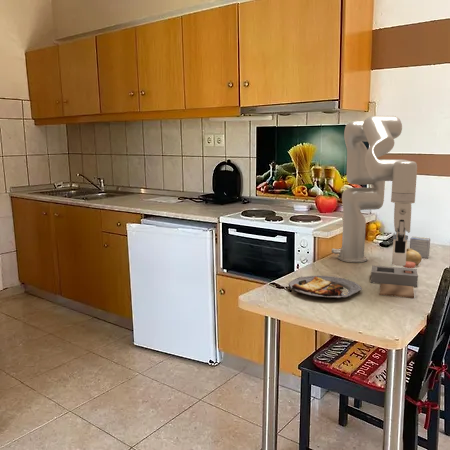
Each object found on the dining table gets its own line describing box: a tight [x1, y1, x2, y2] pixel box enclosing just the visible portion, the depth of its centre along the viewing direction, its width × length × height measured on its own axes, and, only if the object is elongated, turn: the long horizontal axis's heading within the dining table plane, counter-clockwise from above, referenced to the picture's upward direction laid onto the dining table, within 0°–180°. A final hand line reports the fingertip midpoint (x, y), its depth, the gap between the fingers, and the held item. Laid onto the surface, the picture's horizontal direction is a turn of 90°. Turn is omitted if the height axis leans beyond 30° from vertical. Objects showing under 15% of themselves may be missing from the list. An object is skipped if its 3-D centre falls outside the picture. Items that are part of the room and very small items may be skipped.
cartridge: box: [391, 234, 409, 267], centre depth 161 cm, size 5×5×10 cm
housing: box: [370, 264, 419, 288], centre depth 176 cm, size 16×10×4 cm, turn 71°
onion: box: [406, 247, 423, 267], centre depth 198 cm, size 8×8×7 cm
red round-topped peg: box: [402, 261, 416, 273], centre depth 174 cm, size 4×4×7 cm
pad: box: [379, 283, 415, 299], centre depth 164 cm, size 11×11×1 cm
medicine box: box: [409, 236, 431, 259], centre depth 212 cm, size 8×4×9 cm, turn 58°
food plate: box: [288, 275, 363, 299], centre depth 165 cm, size 25×23×4 cm
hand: (399, 250), depth 161 cm, fingers closed on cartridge, 4 cm apart
